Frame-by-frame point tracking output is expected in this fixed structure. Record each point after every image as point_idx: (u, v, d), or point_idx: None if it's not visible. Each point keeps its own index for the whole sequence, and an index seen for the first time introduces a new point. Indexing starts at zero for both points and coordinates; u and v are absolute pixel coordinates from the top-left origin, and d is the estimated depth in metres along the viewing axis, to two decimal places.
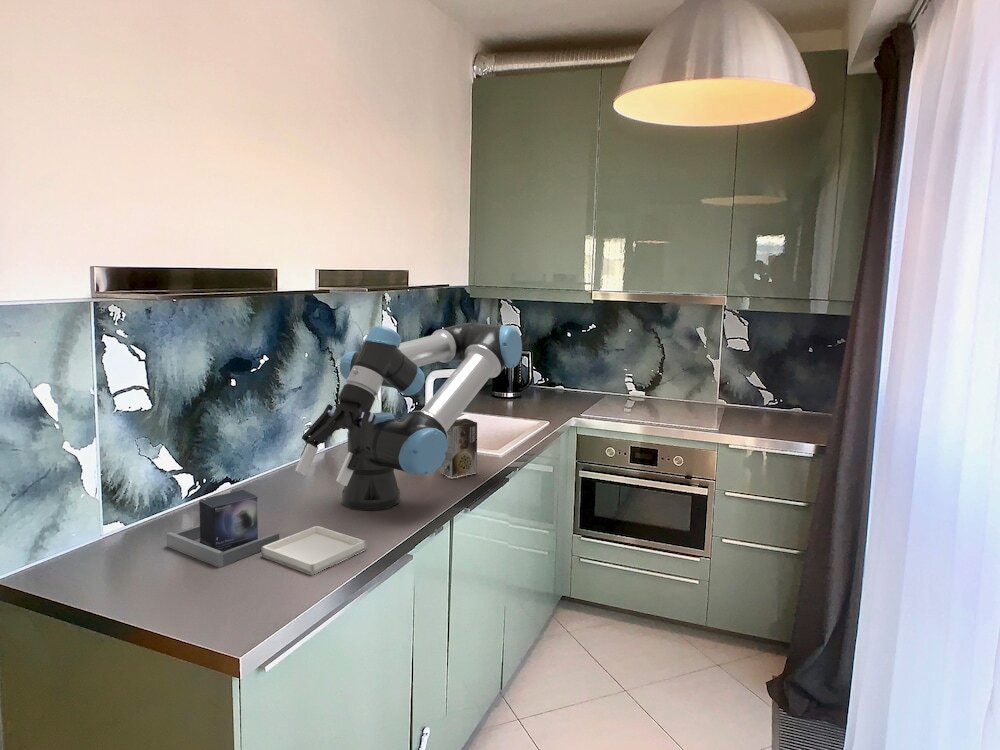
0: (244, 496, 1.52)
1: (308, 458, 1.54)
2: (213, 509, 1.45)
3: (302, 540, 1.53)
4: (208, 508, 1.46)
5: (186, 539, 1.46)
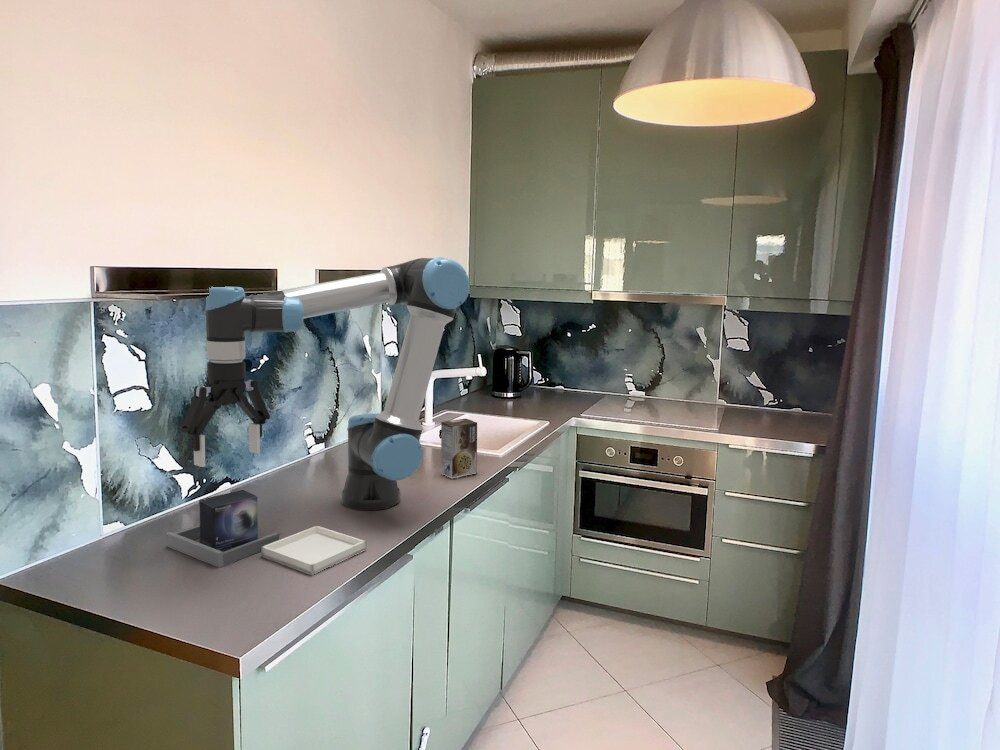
0: (244, 496, 1.52)
1: (253, 437, 1.54)
2: (213, 509, 1.45)
3: (302, 540, 1.53)
4: (208, 508, 1.46)
5: (186, 539, 1.46)
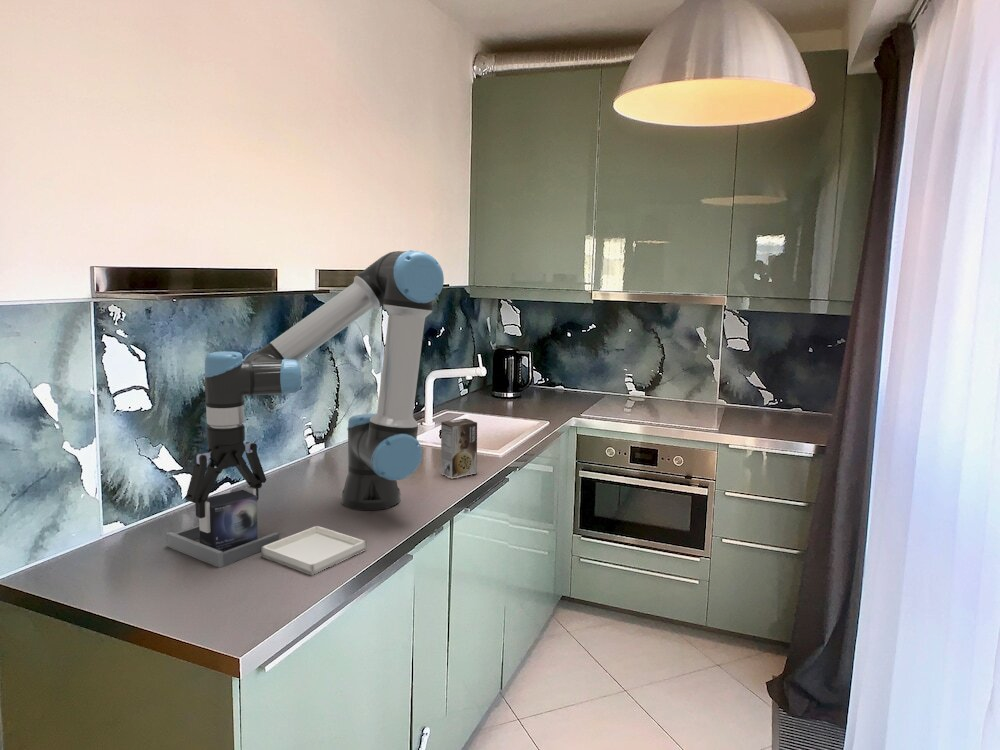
0: (244, 495, 1.52)
1: None
2: (213, 509, 1.45)
3: (302, 540, 1.53)
4: None
5: (186, 539, 1.46)
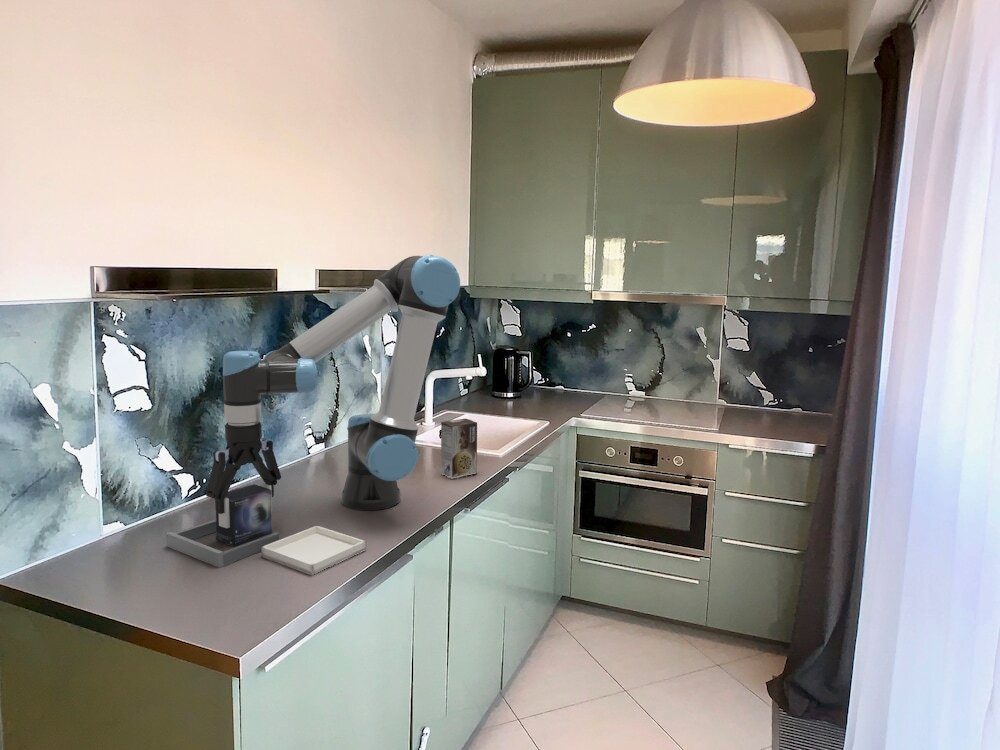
0: (258, 489, 1.56)
1: None
2: (233, 503, 1.49)
3: (302, 540, 1.53)
4: None
5: (186, 539, 1.46)
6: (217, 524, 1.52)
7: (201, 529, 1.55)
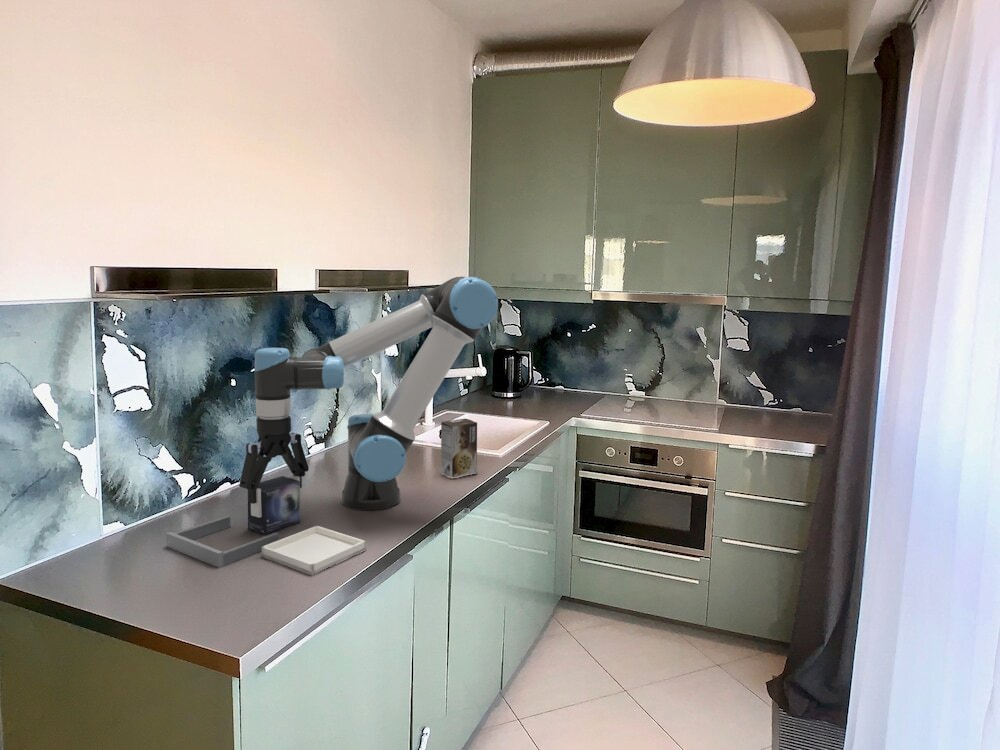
0: (287, 481, 1.63)
1: None
2: (265, 493, 1.56)
3: (302, 540, 1.53)
4: None
5: (186, 539, 1.46)
6: (249, 514, 1.59)
7: (201, 529, 1.55)
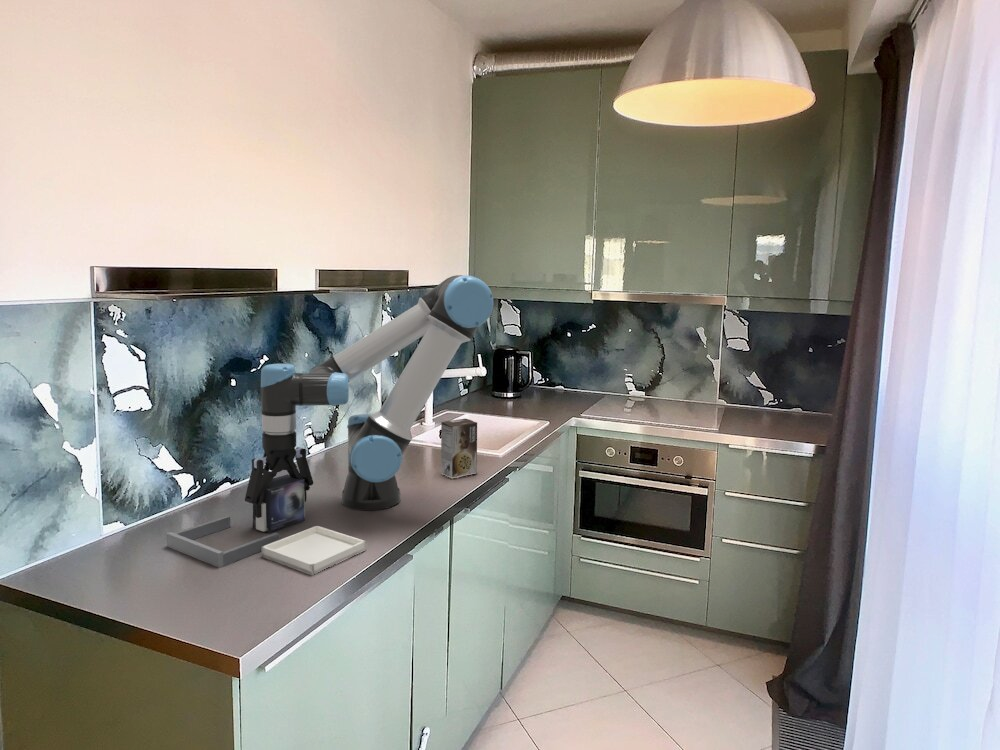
0: (292, 479, 1.65)
1: None
2: (269, 492, 1.57)
3: (302, 540, 1.53)
4: None
5: (186, 539, 1.46)
6: None
7: (201, 529, 1.55)
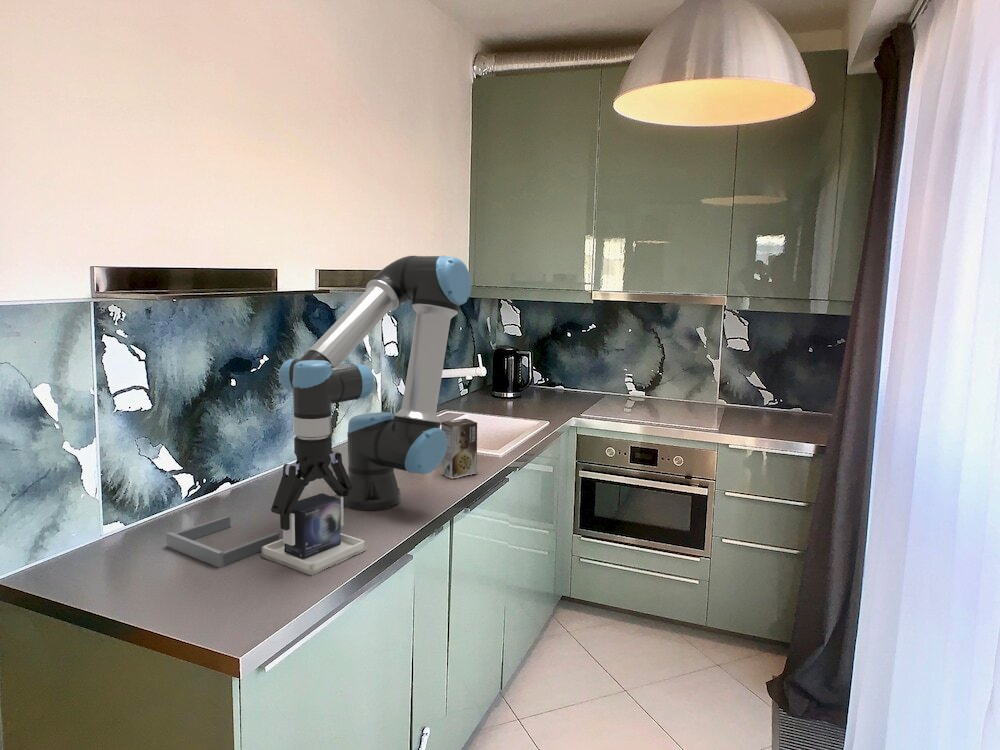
0: (328, 499, 1.49)
1: None
2: (303, 514, 1.42)
3: None
4: (297, 513, 1.42)
5: (186, 539, 1.46)
6: None
7: (201, 529, 1.55)
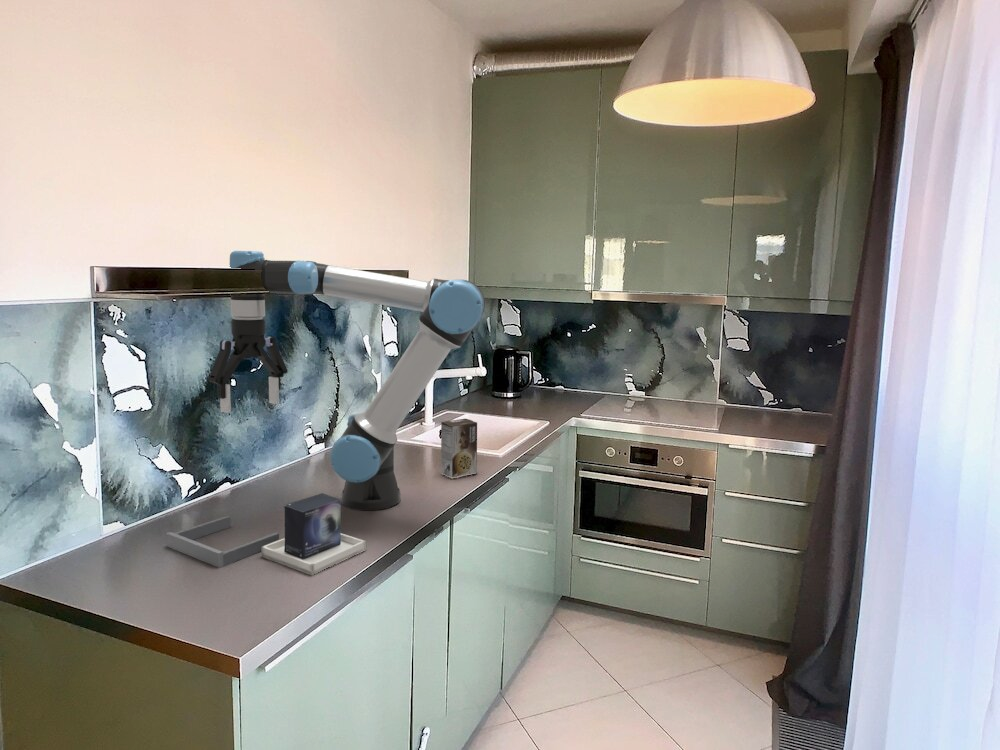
0: (328, 499, 1.49)
1: (272, 389, 1.70)
2: (303, 514, 1.42)
3: None
4: (297, 513, 1.42)
5: (186, 539, 1.46)
6: (286, 535, 1.45)
7: (201, 529, 1.55)
